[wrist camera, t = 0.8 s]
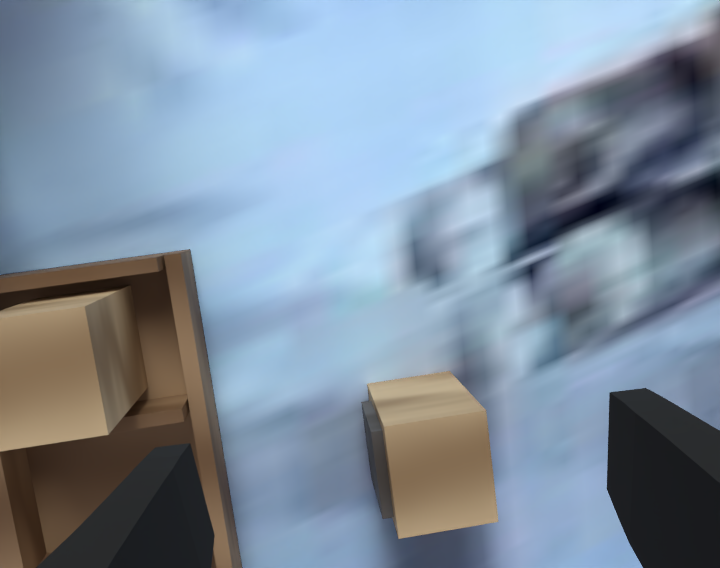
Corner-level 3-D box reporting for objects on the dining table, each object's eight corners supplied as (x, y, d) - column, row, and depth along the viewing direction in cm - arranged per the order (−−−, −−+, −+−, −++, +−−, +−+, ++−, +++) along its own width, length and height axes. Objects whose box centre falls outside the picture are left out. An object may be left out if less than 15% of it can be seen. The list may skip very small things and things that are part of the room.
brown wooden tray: (254, 643, 28) (241, 770, 22) (63, 678, 28) (-8, 819, 21) (190, 249, 26) (155, 262, 20) (-19, 277, 26) (-125, 300, 19)
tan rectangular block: (460, 461, 28) (498, 521, 23) (370, 476, 28) (387, 541, 23) (449, 371, 28) (486, 410, 23) (357, 385, 28) (372, 428, 22)
